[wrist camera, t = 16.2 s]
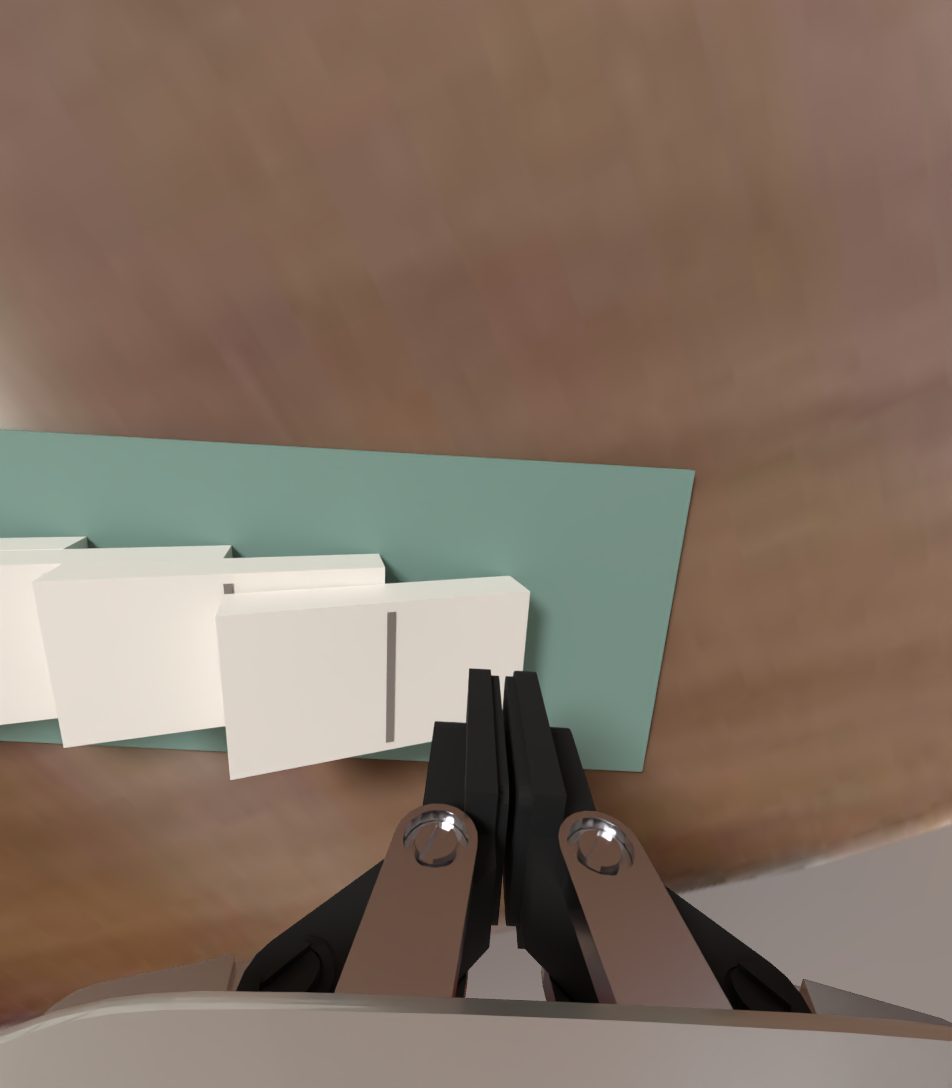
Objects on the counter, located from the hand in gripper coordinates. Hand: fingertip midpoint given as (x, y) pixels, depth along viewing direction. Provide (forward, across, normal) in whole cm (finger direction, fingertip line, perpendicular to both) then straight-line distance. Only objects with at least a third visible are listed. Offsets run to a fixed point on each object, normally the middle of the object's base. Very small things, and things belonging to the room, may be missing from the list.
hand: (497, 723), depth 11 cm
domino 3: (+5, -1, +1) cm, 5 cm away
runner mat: (+6, +8, 0) cm, 10 cm away
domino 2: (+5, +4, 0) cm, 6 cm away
